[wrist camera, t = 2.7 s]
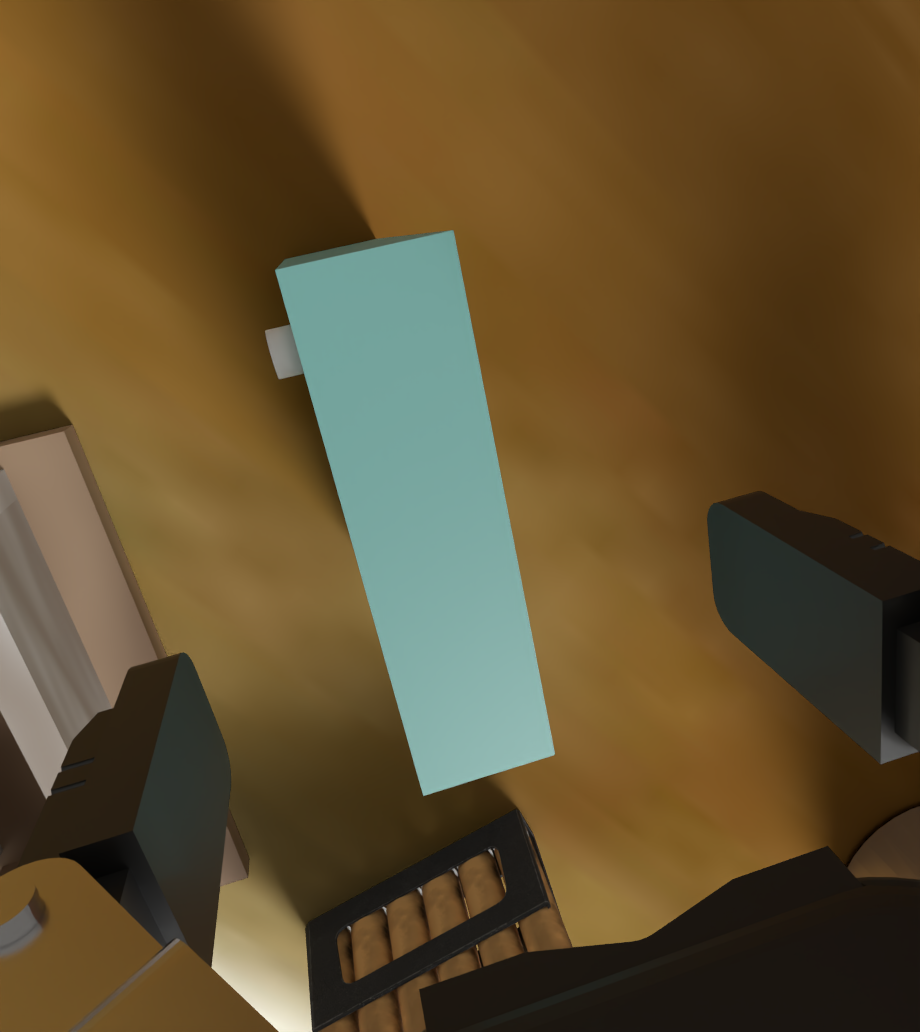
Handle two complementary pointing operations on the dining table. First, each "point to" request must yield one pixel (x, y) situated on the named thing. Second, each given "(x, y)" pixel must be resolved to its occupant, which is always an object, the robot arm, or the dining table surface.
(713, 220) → the dining table surface
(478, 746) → the teal door
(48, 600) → the hinge frame
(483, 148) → the dining table surface
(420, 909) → the ammunition clip
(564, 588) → the dining table surface
